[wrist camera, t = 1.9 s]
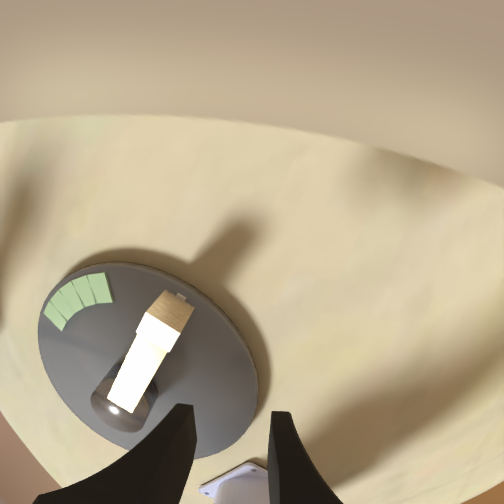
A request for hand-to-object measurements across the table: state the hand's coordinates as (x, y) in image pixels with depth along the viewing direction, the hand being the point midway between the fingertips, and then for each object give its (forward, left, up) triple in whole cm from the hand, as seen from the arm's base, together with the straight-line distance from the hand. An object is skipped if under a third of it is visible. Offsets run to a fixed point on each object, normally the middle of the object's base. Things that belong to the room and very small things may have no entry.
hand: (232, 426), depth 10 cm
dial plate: (+3, +10, -9) cm, 14 cm away
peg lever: (+3, +6, -8) cm, 11 cm away
